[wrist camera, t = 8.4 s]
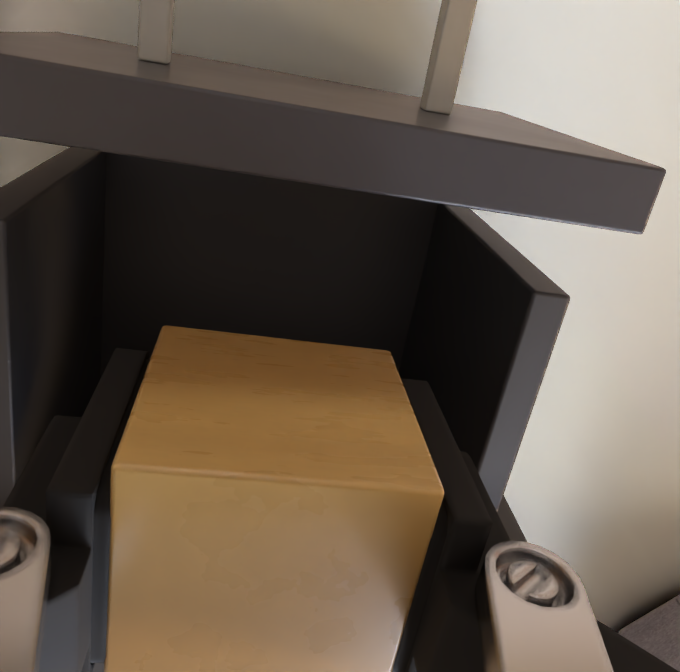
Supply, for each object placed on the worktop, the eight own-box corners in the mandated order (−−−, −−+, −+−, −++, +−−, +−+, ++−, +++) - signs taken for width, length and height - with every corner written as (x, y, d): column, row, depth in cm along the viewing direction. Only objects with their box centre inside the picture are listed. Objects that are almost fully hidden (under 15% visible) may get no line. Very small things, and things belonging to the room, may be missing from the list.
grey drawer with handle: (55, -201, 15) (-184, -462, 7) (552, -83, 17) (801, -184, 9) (58, 476, 23) (-53, 713, 15) (399, 502, 25) (461, 722, 17)
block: (162, 322, 11) (109, 465, 7) (391, 349, 12) (447, 491, 8) (149, 510, 12) (101, 703, 9) (351, 524, 13) (383, 709, 10)
